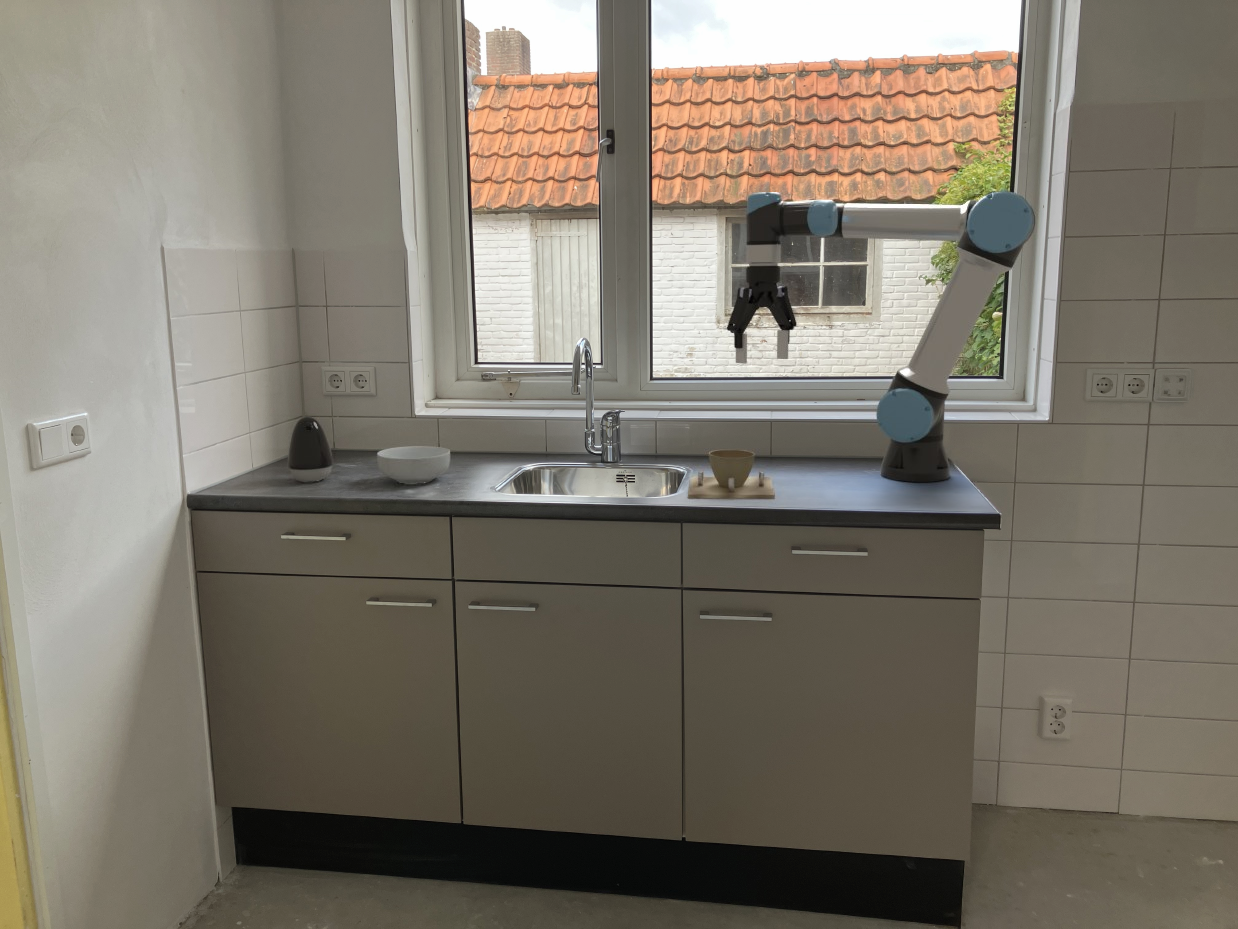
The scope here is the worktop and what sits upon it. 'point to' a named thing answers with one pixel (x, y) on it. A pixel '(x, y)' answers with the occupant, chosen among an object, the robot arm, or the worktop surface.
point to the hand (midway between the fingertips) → (762, 361)
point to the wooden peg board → (731, 488)
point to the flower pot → (731, 466)
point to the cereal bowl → (413, 463)
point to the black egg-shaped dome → (309, 451)
